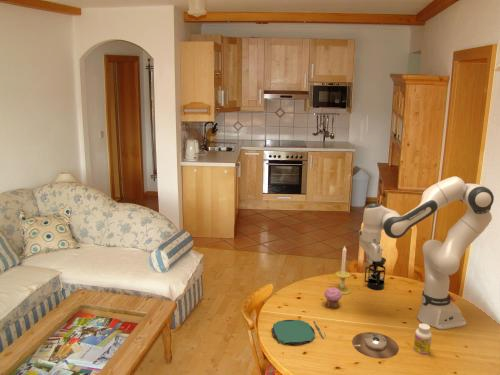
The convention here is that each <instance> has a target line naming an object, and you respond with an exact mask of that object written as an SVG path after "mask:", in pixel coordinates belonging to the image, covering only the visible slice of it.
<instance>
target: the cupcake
mask: <svg viewBox="0 0 500 375" xmlns="http://www.w3.org/2000/svg"><path fill="white" fill-rule="evenodd" d="M324 297H325V299H326V305H327V307H328V308H333V309H336V308H338V306H339V301H340V300H341V299H342V297H343V294H342V293H341V291H340V290H338V289H337V288H335V286H333V287H328V288H327V289H326V290H325V291H324Z"/></svg>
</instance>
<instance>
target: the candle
mask: <svg viewBox="0 0 500 375" xmlns="http://www.w3.org/2000/svg"><path fill="white" fill-rule="evenodd" d="M341 253H342V254H341V256H342V257H341V268H340V269H341V270H338V271H335V273H334V275H335V276H336V277H338V278H340V280H339V285H335V286H334V287H335V288H337V289H338V290H340V291H341V293H342V295H349V294H350V293H351V292H352V290H351V288H350V287H348V286H346V282H345V281H346V279H348V278H350V277H351V275H352V274H351V273H350V272H349V271H346V263H347V262H346V261H347V248H346V245H344V246H343V248H342V252H341Z"/></svg>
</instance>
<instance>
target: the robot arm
mask: <svg viewBox="0 0 500 375" xmlns="http://www.w3.org/2000/svg"><path fill="white" fill-rule="evenodd" d="M494 199H495V197H494V194H493V192H492V190H490V189H489V188H488V187H486V186H484V185H481V184H478V183H474V182H465V181H464V180H463V179H462V178H461V177H458V176H456V175H455V176H451V177H448V178H444V179H442V180H440V181H438V182H436V183H434V184H432V185H430V186H429V187H427V188H426V189H425V190H424V191H423V193H422V195H421V199H420V203H419V204H418V205H417V206H416V207H414V208H413V209H411V210H410V211H408V212H407V213H405V214H403V215H400V214H399V213H398V211H396V210H394V209H390V208H387V207H385V206H384V205H382V204H381V203H379V202H372V203H368V204H367V205H366V206H365V207H364V209H363V215H362V218H363V219H362V224H363V226H362V228H361V229H360V230H359V232H358V234H359V246H360V248H361V249H362V250H363V251H364V252H365V255H366V256H365V257H366V261H367V263H368V264H369V265H371V264H372V263H373V261H375V262H376V261H381V259H382V257H383V256H382V255H383V252H382V251H383V248H382V246H381V244H380V242H381V237H382V231H384V233H385V235H386V236H387V237H389V238H390V239H400V238H402V237H403V236H405V235H406V233H407V232H408V231H409V230H410V229H411V228H412V227H414V226H415V225H417V224H419V223H420V222H422V221H423V220H425V219H427V218H428V217H430V216H432V215H433V214H434V213H436V212H437V211H438V210H440V209H442V208H443V207H445V206H447V205H449V204H451V203H453V202H456V201H458V200H459V201H460V202H461V203H463V204H464V205H466V206H467V210H466V212H465V213H464V214H463V215H462V216H461V217H460V218H459V219H458V221H456V222H455V223H454V224H453V225H452V227H450V228H449V230H448V231H447V234H446V235H447V236H446V238H445V240H444V241H443V242H441V241H440V240H438V239H429V240H426V241H425V242H424V244H422V254H423V263H424V264H423V267H424V286H423V290H422V294H421V305H420V308H419V311H418V313H417V316H416V317H417V319H418V320H419V322H421V324H427V325H429V326H430V327H433V328H436V329H438V330H442V331H443V330H449V329H453V328H454V329H456V328H461V327H466V326H467V321H466V319H465V318H464V317H463V315H462V311H461V309H460V308H459V307H458V306H457V305H456V304H455V303H454V302H455V301H456V298H455V297H454V296H451V294H450V293H449V290H450V283H451V282H450V280H451V279H450V277H449V276H452V275H454V274H455V273H457V272H458V271H459V269H460V266H461V260H462V257H463V255H464V254H465V252H466V251H467V249H468V248H469V247H470V245H471V244H473V242H474V241H475V240H476V239H477V238H478V237H479V236H480V235H481V234H482V233H483V232H485V230H486V228H487V227H488V226H489V224H490V223H491V222H492V220H493V215H492V213H491V212H490V211H491V208H492V205H493V203H494Z"/></svg>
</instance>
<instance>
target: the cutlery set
mask: <svg viewBox="0 0 500 375" xmlns="http://www.w3.org/2000/svg"><path fill="white" fill-rule="evenodd" d="M313 324H314V325H315V327H316V330H317V331H318V334H319V336H320V337H321V338H322V340H324V339H325V338H324V336H325V337H327V335H326V332H324V335H323V334H322V332H321V330H320V328H319V326H318V325H317V324H316V321H313ZM271 330H272V334H273V336H274V337H275V338H276V339H277V341H278V342H279V343H280V344H281V345H284V344H286V343H287V344H291V345H293V344H294V345H299V344H300V345H301V344H305V343H308V342H312V341H313V340H314V339H315V338H316V333H315V329H314V327H312V326H311V325H310V324H309V322H306V321H303V320H300V319H285V320H283V319H282V320H278V321H276V322H275V323H274V324H273V325H272V328H271Z"/></svg>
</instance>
